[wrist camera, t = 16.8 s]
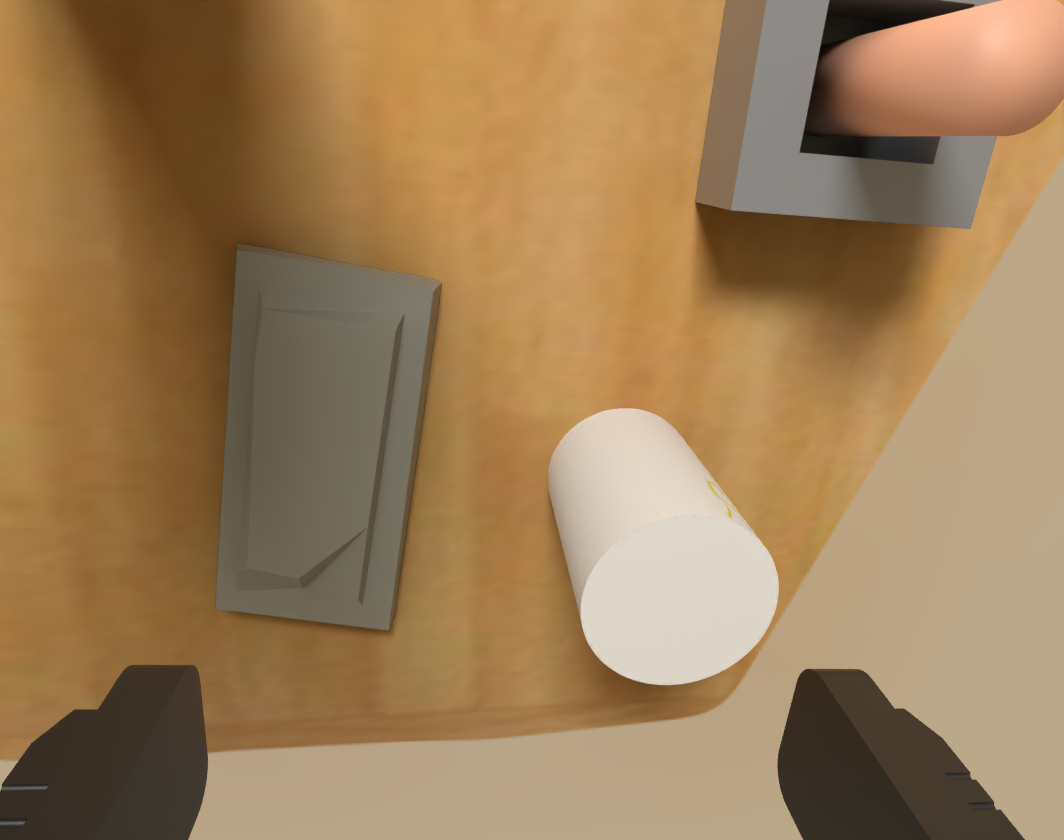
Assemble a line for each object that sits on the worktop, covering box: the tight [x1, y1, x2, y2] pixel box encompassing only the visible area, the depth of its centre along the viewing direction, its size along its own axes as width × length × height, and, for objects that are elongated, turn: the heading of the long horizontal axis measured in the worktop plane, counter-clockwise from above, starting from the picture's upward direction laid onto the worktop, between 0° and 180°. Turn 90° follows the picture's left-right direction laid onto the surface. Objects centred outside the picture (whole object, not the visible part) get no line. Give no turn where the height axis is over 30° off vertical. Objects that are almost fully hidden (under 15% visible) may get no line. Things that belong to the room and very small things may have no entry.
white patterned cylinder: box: [547, 408, 779, 685], centre depth 34 cm, size 8×8×12 cm
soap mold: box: [215, 243, 442, 630], centre depth 37 cm, size 10×20×4 cm, turn 169°
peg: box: [804, 0, 1064, 137], centre depth 28 cm, size 4×4×12 cm
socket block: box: [695, 0, 1001, 229], centre depth 31 cm, size 11×11×5 cm
